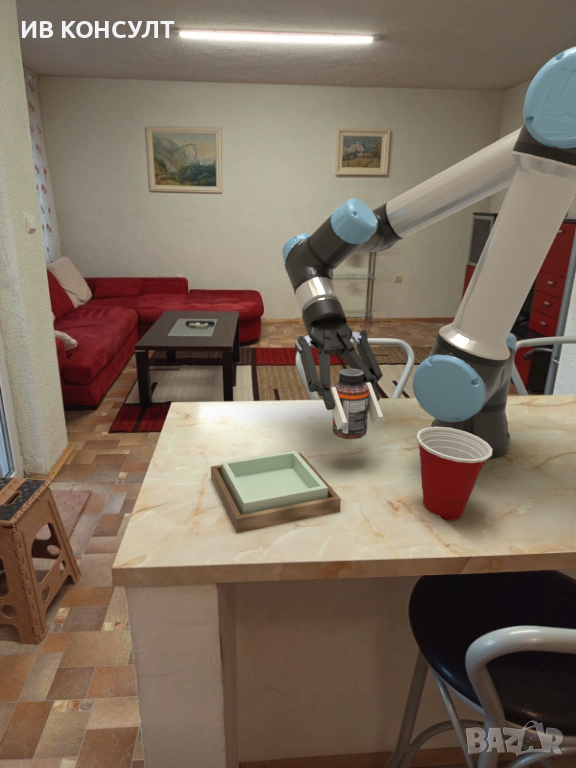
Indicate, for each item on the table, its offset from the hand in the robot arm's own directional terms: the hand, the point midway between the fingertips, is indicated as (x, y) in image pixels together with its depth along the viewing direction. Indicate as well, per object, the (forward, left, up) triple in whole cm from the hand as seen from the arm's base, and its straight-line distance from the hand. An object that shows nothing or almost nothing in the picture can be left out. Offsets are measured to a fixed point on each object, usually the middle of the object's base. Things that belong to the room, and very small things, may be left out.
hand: (360, 422), depth 85 cm
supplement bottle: (0, -4, -4) cm, 5 cm away
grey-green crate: (+16, +1, -9) cm, 19 cm away
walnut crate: (+16, +1, -10) cm, 19 cm away
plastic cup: (-8, +13, -10) cm, 19 cm away
